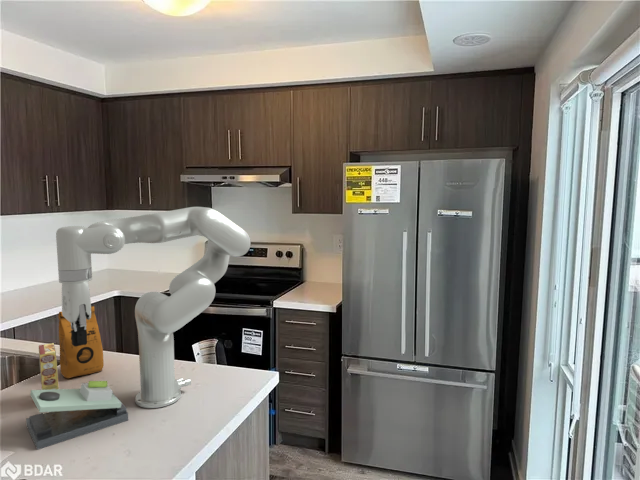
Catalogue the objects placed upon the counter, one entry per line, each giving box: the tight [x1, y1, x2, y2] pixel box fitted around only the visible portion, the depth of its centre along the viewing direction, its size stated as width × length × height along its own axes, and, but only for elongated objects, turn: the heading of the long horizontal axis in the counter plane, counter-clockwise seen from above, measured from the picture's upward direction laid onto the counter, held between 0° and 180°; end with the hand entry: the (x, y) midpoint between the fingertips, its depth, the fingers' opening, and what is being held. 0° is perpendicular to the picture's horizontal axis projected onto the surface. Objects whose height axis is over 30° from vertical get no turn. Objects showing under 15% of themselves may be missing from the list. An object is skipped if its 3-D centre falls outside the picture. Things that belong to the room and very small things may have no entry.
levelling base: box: [25, 401, 129, 450], centre depth 121 cm, size 21×14×3 cm, turn 131°
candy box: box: [38, 342, 60, 390], centre depth 133 cm, size 9×4×15 cm, turn 33°
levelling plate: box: [29, 380, 123, 413], centre depth 120 cm, size 20×12×5 cm, turn 132°
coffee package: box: [57, 305, 105, 379], centre depth 151 cm, size 10×12×22 cm
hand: (79, 344), depth 119 cm, fingers closed
